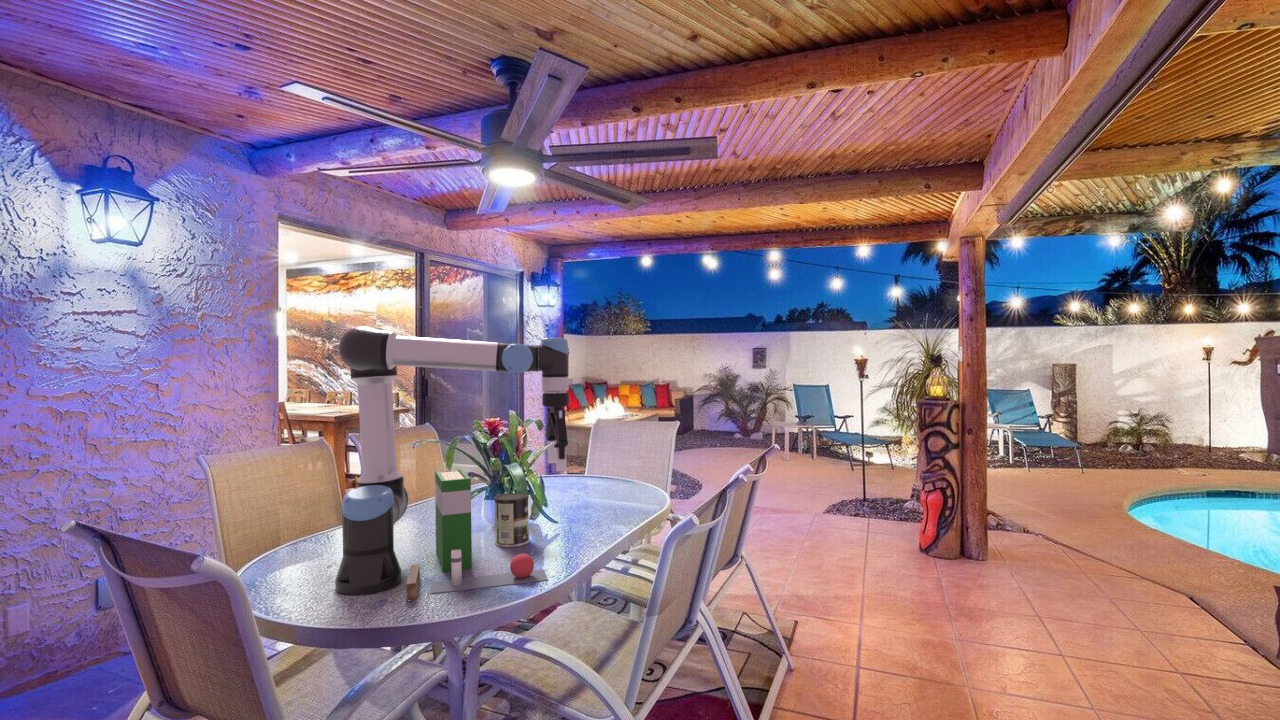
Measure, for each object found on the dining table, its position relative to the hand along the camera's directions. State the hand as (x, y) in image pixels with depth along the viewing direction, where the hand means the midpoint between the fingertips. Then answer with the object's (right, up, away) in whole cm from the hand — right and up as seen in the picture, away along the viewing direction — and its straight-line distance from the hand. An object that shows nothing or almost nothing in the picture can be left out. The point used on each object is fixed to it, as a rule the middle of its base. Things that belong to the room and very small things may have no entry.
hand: (556, 466), depth 173 cm
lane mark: (-14, -25, -20) cm, 35 cm away
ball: (-6, -22, -18) cm, 29 cm away
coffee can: (-15, -25, +13) cm, 32 cm away
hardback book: (-28, -26, -4) cm, 38 cm away
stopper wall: (-31, -25, -26) cm, 48 cm away
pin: (-22, -25, -23) cm, 40 cm away
